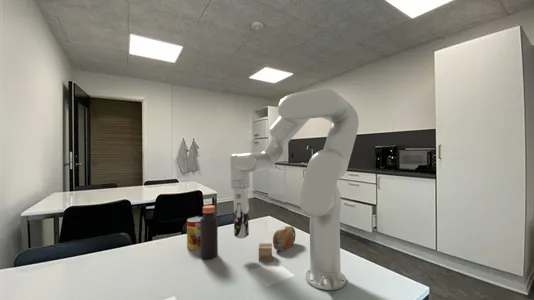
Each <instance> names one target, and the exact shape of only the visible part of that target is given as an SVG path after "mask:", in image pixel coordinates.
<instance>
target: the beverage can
mask: <svg viewBox="0 0 534 300" xmlns="http://www.w3.org/2000/svg"><path fill="white" fill-rule="evenodd" d="M235 212H237V210H236V211H235ZM241 214H243V212H241ZM241 216H242V215H241ZM233 230H234V231H233V235H234V237H235V238H237V239H246V238H247V237H248V236H249V234H250V233H249V211H248V212H247V214H245V213H244V222H242V224H241V222H239V230H238V222H237V213H236V214H235V213H234V212H233Z"/></svg>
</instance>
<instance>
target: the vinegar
mask: <svg viewBox="0 0 534 300" xmlns="http://www.w3.org/2000/svg"><path fill="white" fill-rule="evenodd" d="M202 214H203V215H202V216H201V217H202V218H201V220H200V248H199V249H200V258H201V259H203V260H212V259H215V258H216V257H218V254H219V251H218V250H219V245H218V239H219V238H218V237H219V236H218V231H219V230H218V217H217V216H216V215H215V214H216V206H215V205H210V204H209V205H204V206H202Z"/></svg>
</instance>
